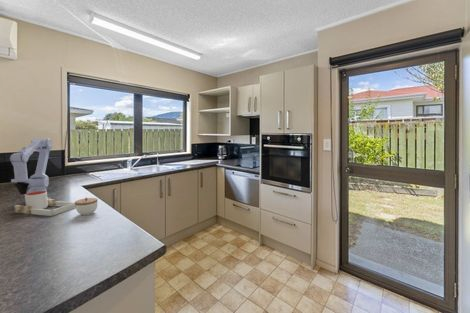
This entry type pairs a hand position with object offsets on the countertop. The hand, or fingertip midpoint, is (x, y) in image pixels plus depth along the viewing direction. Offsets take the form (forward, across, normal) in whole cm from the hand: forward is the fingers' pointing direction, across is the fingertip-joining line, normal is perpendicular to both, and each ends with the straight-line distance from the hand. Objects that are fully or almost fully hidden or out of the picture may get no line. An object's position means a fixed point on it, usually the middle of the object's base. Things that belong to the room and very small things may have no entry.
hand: (23, 194), depth 136 cm
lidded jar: (+9, +48, 0) cm, 49 cm away
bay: (+9, +9, 0) cm, 13 cm away
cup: (+9, +10, 0) cm, 14 cm away
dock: (+9, +24, 0) cm, 25 cm away
